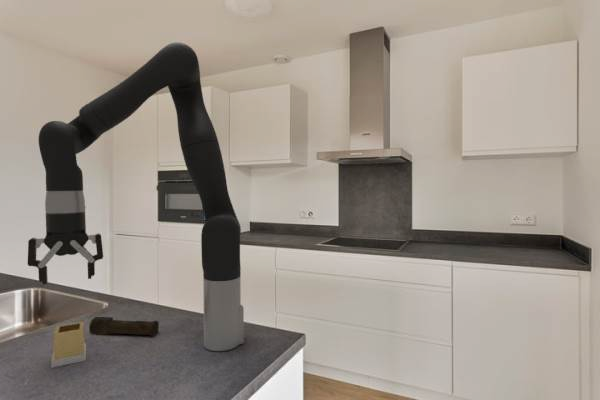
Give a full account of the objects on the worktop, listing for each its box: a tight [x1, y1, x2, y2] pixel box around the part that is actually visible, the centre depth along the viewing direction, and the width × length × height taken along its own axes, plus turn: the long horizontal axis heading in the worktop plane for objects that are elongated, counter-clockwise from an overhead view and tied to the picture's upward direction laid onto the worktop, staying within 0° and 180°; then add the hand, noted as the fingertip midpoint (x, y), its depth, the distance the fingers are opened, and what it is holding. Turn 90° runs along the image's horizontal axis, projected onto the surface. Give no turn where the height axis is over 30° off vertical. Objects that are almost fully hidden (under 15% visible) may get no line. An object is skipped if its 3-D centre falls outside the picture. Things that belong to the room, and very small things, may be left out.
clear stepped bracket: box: [50, 342, 87, 369], centre depth 84 cm, size 6×17×5 cm, turn 31°
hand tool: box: [88, 316, 160, 338], centre depth 93 cm, size 19×4×5 cm, turn 84°
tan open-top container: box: [53, 321, 85, 359], centre depth 80 cm, size 6×6×6 cm
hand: (68, 280), depth 79 cm, fingers open, 8 cm apart
